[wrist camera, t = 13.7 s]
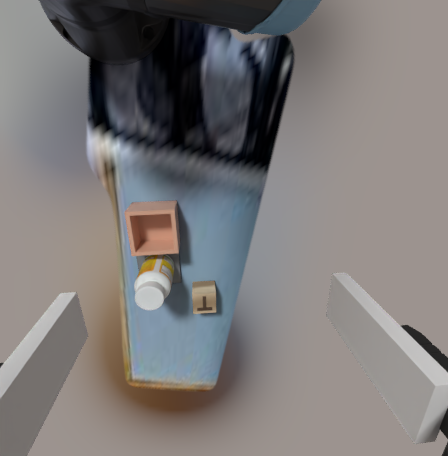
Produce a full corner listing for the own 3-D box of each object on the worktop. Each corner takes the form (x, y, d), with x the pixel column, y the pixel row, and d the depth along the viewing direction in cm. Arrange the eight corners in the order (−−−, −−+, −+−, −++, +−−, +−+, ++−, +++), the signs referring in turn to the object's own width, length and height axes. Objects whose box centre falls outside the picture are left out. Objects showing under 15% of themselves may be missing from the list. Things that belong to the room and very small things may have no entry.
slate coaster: (136, 248, 45) (135, 249, 45) (177, 245, 46) (177, 247, 45) (141, 283, 48) (141, 285, 47) (181, 280, 48) (181, 282, 48)
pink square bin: (132, 202, 42) (124, 211, 38) (176, 200, 43) (174, 209, 38) (138, 242, 45) (131, 256, 40) (180, 240, 46) (178, 253, 41)
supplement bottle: (177, 254, 46) (173, 286, 37) (171, 281, 48) (165, 317, 39) (145, 248, 45) (133, 279, 36) (140, 275, 47) (127, 311, 38)
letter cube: (192, 281, 49) (192, 294, 45) (214, 280, 49) (216, 293, 45) (193, 300, 50) (193, 314, 47) (214, 299, 51) (216, 313, 47)
